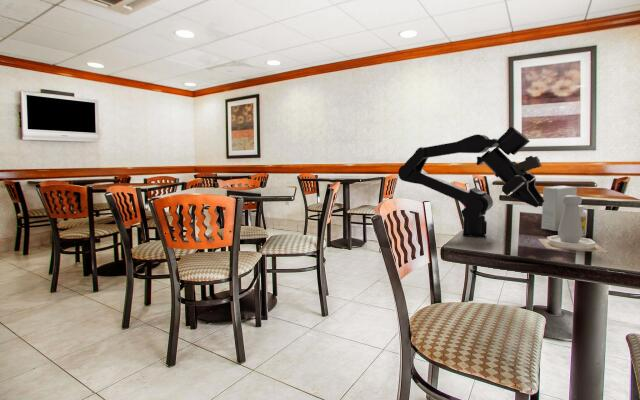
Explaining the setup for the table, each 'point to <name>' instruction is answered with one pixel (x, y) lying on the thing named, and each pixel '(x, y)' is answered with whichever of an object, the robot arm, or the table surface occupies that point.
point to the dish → (581, 245)
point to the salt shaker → (571, 220)
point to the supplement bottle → (582, 218)
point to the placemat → (545, 243)
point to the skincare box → (554, 205)
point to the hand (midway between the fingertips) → (540, 204)
